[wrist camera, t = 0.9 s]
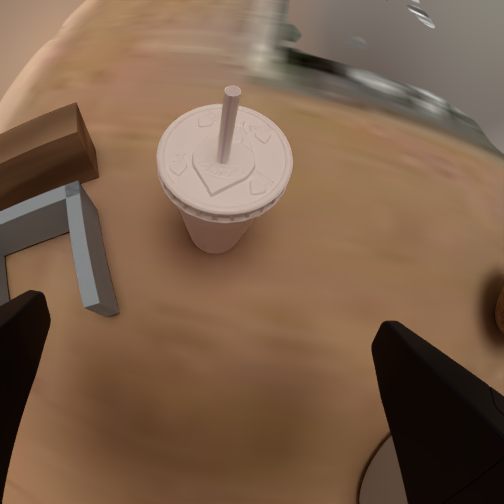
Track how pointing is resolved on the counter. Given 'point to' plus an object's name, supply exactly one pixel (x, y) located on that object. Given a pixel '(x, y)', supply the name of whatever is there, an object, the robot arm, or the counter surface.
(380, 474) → the cylinder vase
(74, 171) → the block
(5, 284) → the cradle
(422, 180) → the counter surface
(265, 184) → the smoothie
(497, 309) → the natural sponge
